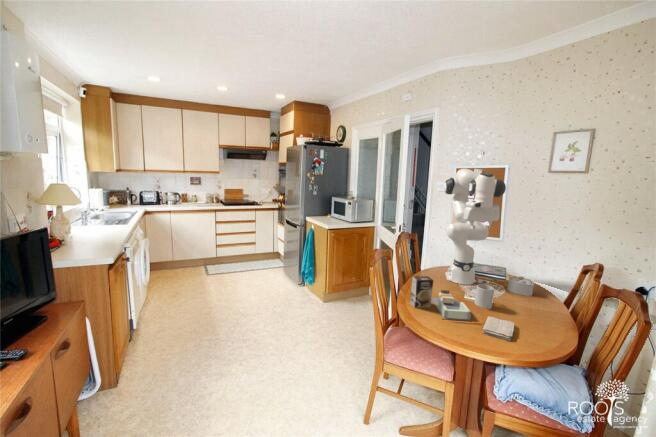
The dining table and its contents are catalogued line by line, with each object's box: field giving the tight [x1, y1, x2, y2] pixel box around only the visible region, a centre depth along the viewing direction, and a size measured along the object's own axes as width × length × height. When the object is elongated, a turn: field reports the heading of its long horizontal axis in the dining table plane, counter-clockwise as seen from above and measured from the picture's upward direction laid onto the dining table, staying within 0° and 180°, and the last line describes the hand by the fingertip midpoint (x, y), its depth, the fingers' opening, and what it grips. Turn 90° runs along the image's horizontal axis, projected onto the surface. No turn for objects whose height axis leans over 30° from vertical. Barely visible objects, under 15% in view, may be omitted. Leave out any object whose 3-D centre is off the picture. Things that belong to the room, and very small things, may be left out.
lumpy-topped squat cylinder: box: [507, 276, 535, 297], centre depth 192 cm, size 10×13×9 cm
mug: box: [474, 283, 495, 310], centre depth 171 cm, size 12×8×11 cm
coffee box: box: [409, 275, 434, 309], centre depth 165 cm, size 9×6×16 cm
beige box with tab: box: [438, 289, 455, 305], centre depth 171 cm, size 7×6×6 cm
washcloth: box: [482, 316, 515, 342], centre depth 146 cm, size 12×18×3 cm, turn 147°
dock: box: [431, 296, 472, 323], centre depth 164 cm, size 24×14×5 cm, turn 175°
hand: (480, 228), depth 169 cm, fingers open, 8 cm apart
